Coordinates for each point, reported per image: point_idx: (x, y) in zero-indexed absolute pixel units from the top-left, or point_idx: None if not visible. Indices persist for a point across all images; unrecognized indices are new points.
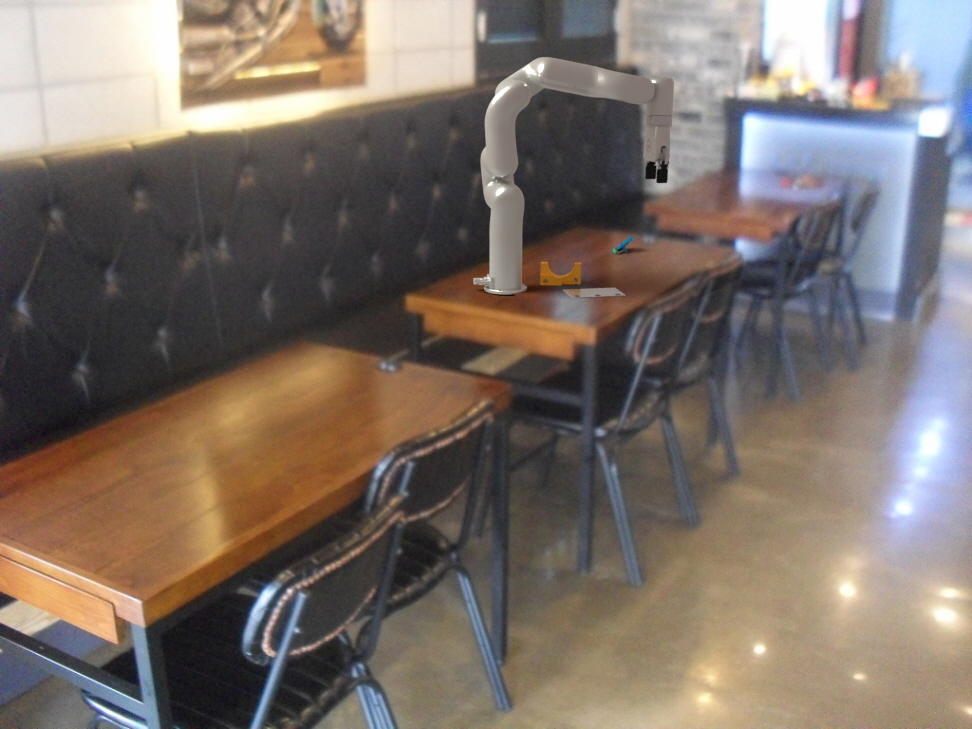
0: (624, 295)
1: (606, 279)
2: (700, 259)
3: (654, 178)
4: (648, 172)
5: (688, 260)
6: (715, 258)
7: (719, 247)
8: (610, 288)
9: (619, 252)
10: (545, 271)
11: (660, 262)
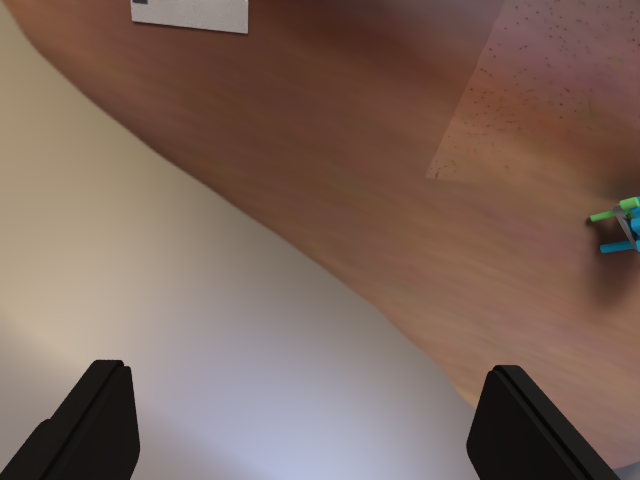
0: (132, 17)
1: (381, 63)
2: None
3: (468, 441)
4: (529, 447)
5: None
6: None
7: None
8: (236, 10)
9: (617, 217)
10: None
11: (528, 304)
